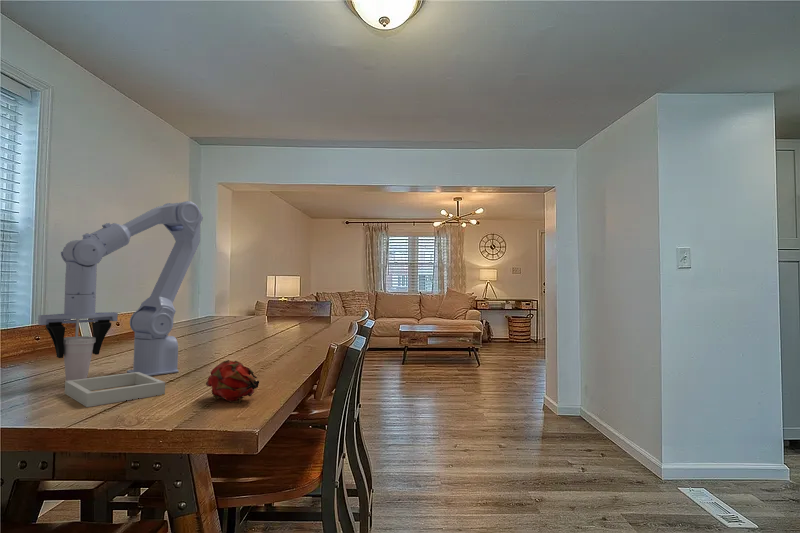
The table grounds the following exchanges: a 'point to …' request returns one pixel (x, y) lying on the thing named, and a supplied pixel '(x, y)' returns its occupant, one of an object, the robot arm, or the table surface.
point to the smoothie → (77, 355)
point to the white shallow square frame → (142, 388)
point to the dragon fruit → (232, 381)
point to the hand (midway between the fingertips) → (78, 355)
